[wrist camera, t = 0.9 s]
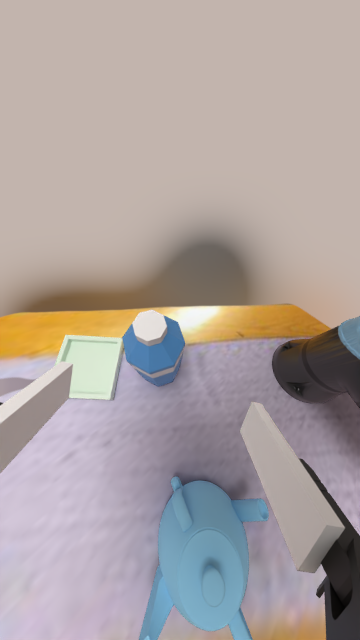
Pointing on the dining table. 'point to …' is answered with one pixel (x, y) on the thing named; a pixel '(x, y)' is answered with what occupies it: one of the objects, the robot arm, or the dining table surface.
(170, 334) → the water bottle
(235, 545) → the teapot
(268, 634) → the dining table surface
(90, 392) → the tray
